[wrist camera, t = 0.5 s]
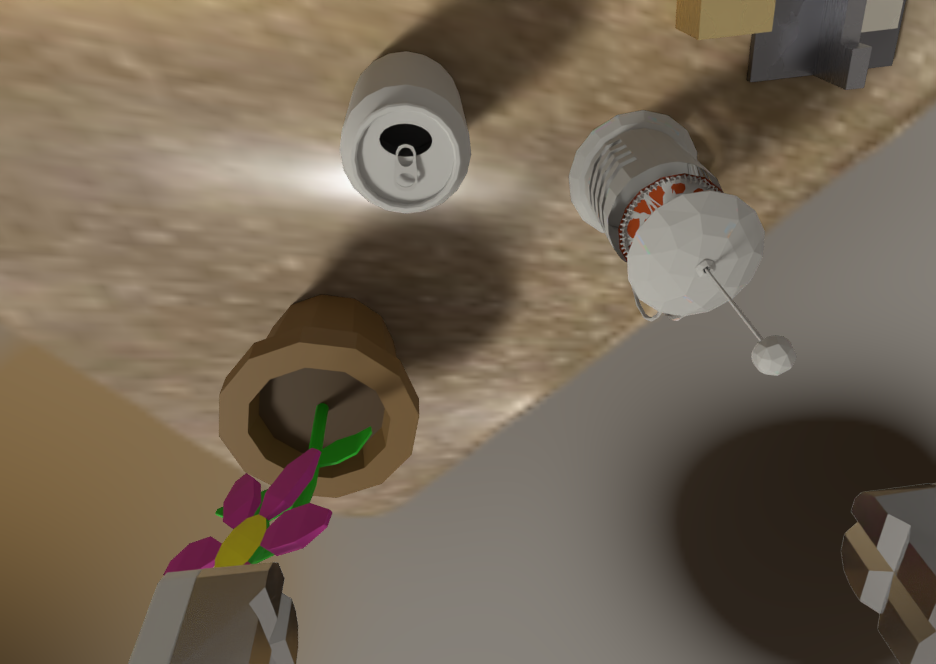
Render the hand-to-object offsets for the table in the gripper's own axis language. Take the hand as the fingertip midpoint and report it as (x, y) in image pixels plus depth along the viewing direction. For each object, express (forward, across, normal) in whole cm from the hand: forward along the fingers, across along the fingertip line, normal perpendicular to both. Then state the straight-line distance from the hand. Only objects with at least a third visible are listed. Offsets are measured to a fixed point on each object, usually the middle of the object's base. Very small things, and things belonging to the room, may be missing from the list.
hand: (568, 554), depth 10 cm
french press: (+44, -13, +12) cm, 47 cm away
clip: (+43, -18, -1) cm, 47 cm away
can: (+44, +3, +4) cm, 44 cm away
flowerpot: (+44, +12, +24) cm, 51 cm away
